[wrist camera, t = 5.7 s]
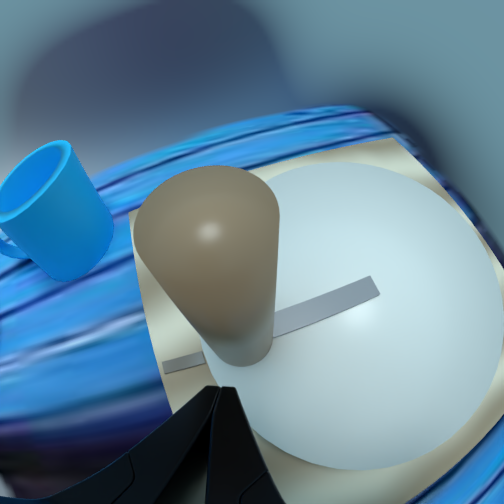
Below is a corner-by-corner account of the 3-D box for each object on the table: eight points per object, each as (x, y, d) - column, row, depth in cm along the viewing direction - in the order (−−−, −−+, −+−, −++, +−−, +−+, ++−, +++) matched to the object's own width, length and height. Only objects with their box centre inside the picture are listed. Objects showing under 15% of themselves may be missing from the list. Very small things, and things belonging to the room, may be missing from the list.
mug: (113, 194, 24) (78, 126, 17) (116, 264, 20) (61, 192, 13) (24, 236, 22) (-19, 186, 15) (15, 303, 18) (-45, 257, 11)
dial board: (533, 359, 12) (546, 353, 11) (249, 556, 8) (248, 568, 7) (389, 148, 26) (393, 135, 24) (135, 224, 22) (127, 210, 20)
